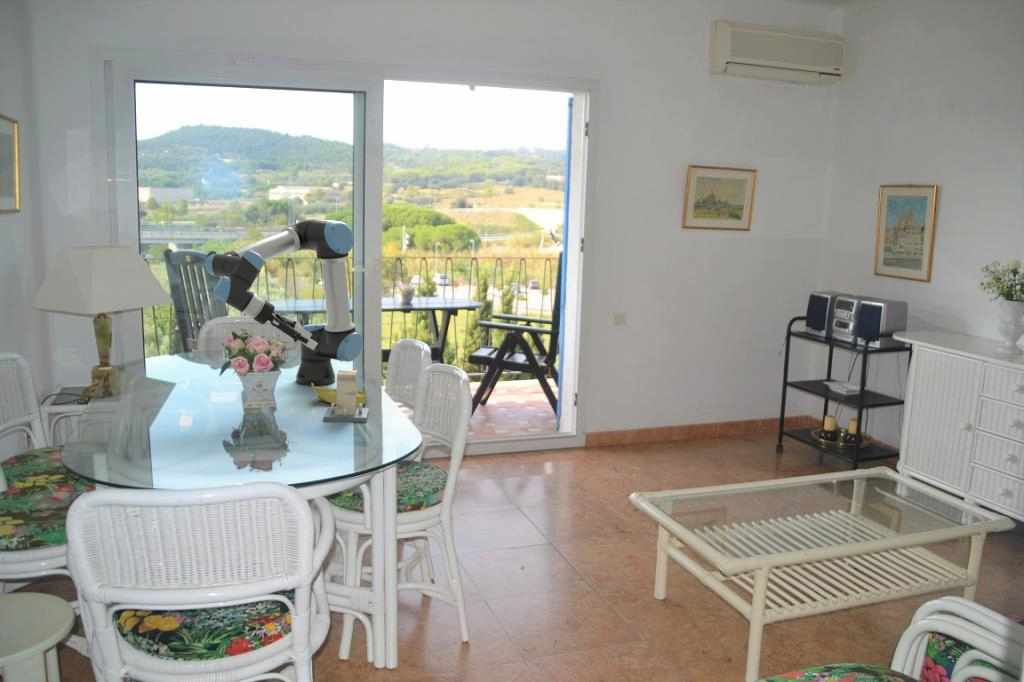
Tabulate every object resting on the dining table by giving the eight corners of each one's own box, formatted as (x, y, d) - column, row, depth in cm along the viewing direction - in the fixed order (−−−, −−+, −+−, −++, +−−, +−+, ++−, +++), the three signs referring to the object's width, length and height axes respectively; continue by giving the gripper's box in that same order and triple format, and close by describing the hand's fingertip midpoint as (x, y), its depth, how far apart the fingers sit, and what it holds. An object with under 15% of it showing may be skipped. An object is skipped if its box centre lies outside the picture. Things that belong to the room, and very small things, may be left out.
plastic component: (366, 392, 303) (366, 386, 293) (364, 411, 301) (364, 406, 291) (312, 387, 300) (310, 381, 290) (309, 407, 298) (308, 401, 288)
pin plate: (327, 411, 282) (327, 399, 282) (368, 412, 284) (368, 399, 283) (323, 421, 271) (323, 408, 270) (366, 422, 272) (366, 409, 271)
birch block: (338, 409, 280) (339, 370, 277) (356, 410, 280) (357, 370, 278) (336, 414, 274) (336, 373, 271) (354, 415, 274) (355, 374, 272)
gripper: (249, 311, 284) (301, 342, 294) (255, 326, 262) (311, 360, 271) (262, 293, 284) (313, 325, 294) (268, 307, 262) (324, 341, 271)
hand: (312, 341), depth 282 cm, fingers open, 13 cm apart
